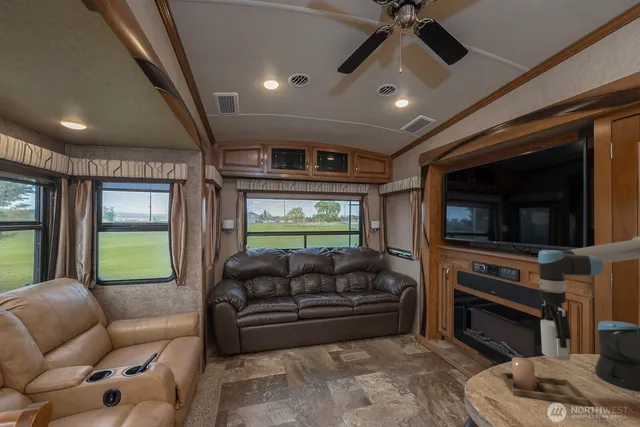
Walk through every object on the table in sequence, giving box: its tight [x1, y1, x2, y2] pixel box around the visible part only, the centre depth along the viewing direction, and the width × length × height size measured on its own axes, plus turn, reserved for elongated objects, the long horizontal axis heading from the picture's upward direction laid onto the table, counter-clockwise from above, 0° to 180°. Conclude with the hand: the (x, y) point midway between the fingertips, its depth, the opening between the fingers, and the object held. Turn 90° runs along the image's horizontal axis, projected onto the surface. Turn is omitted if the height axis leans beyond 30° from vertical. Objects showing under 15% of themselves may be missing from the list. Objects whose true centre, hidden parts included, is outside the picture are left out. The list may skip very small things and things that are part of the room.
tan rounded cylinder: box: [511, 356, 536, 392], centre depth 105 cm, size 7×7×10 cm
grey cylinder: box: [540, 319, 571, 361], centre depth 103 cm, size 8×8×12 cm
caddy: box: [500, 371, 590, 407], centre depth 104 cm, size 23×13×2 cm, turn 74°
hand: (555, 350), depth 103 cm, fingers closed on grey cylinder, 8 cm apart
